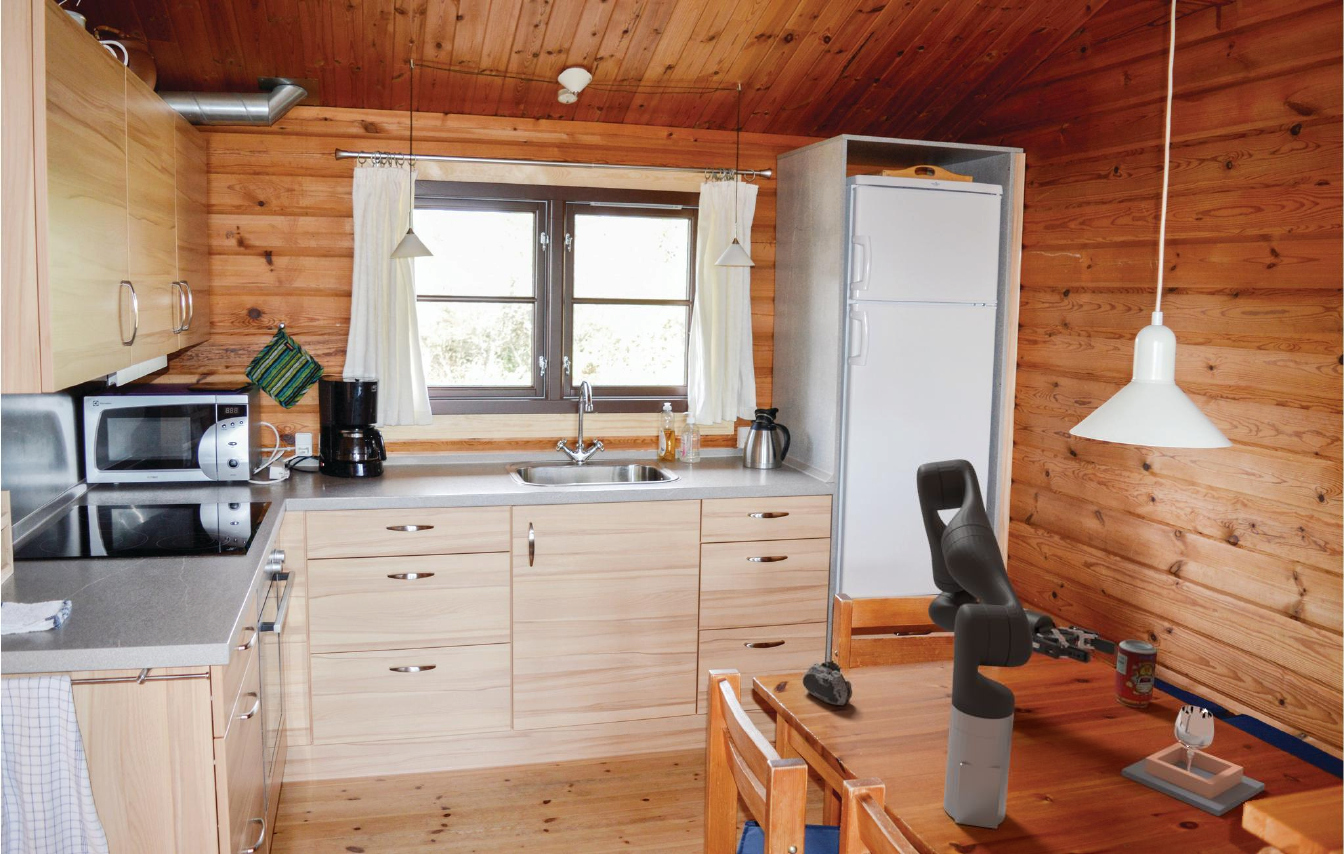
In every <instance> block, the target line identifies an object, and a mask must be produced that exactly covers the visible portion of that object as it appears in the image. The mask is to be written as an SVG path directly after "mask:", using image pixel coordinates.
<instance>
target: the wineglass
mask: <svg viewBox="0 0 1344 854" xmlns="http://www.w3.org/2000/svg"><path fill="white" fill-rule="evenodd" d="M1214 723H1215V722H1214V715H1213V713H1212V712H1211V711H1210V710H1208V709H1206V708H1203V707H1200V706H1196V705H1183V706H1181V708H1180V709H1179V712H1178V715H1177V717H1176V719H1175V723H1174V736H1175V738H1176V740H1177V741H1178V743H1181V744H1182V745H1184V746H1185V747H1187V748H1190V749H1189V750H1188V752H1187V756H1188V764H1187V769H1186V771H1188V772H1190V765H1191V760H1192V758H1193V756H1194V751H1193V749H1195V750H1199V751H1201V750H1204V749H1206V748H1208V747H1209V746H1210V745H1211V744H1212V742H1213V740H1214V735H1215V724H1214Z"/></svg>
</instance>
